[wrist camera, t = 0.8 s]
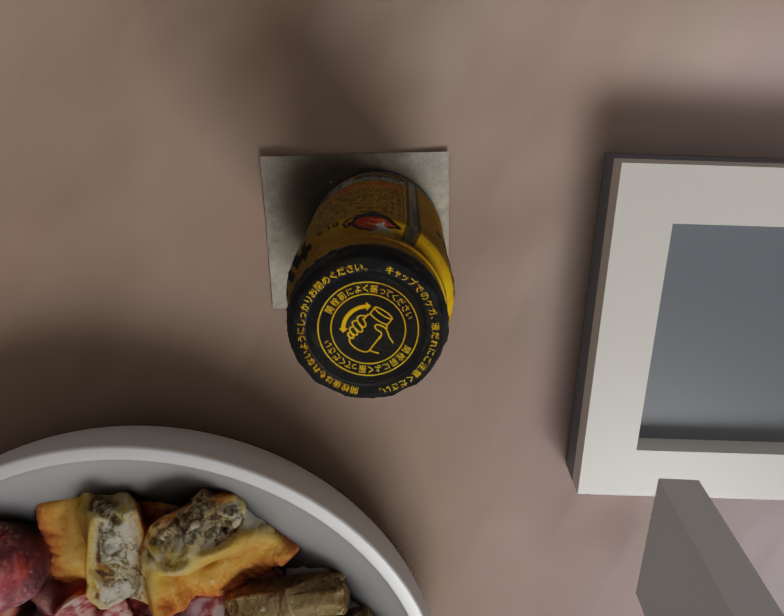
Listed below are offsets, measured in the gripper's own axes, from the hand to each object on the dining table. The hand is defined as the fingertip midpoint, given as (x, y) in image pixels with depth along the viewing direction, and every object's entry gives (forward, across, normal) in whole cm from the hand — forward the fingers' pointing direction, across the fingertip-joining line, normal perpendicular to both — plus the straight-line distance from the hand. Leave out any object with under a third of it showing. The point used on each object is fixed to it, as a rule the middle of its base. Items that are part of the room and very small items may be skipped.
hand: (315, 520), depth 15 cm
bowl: (+22, +10, +24) cm, 34 cm away
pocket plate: (+22, -19, +4) cm, 29 cm away
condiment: (+22, 0, 0) cm, 22 cm away
